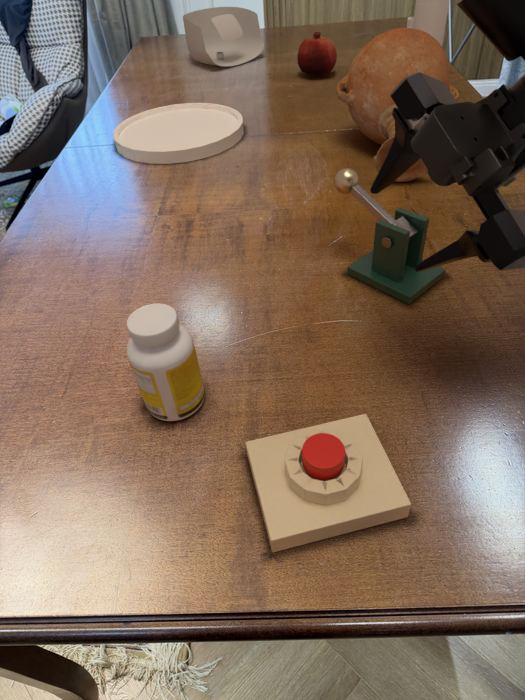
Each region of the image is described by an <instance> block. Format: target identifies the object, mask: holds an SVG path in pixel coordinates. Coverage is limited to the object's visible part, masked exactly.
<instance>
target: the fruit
mask: <svg viewBox="0 0 525 700" xmlns="http://www.w3.org/2000/svg"><path fill="white" fill-rule="evenodd" d="M321 34H322V32H320V31H314V32H313V36H310V37H306V38H304V39H303V41H302V42H301V43H300V45H299V47H298V51H297V55H296V60H297V65H298V68H299V69H300V71H301V72H302V73H303V74H305V75H308V76H314V77H323V76H325V75H328V74H329V73H331V71H332V70H334V68H335V66H336V63H337V60H338V52H337V48H336V44H335V43H334V42H333V41H332V40H331V39H330V38H328V37H324V36H321Z"/></svg>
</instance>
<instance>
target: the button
mask: <svg viewBox="0 0 525 700" xmlns="http://www.w3.org/2000/svg"><path fill="white" fill-rule="evenodd" d="M302 463H303V467H304V469H305V471H306V472H307V473H308V474H309V475H310V476H312V477H314V478H316V479H320V480H328V479H332V478H334V477H336V476H338V475H339V474H340V473H341V472H342V470H343V468H344V463H345V447H344V445H343V443H342V442H341V441H340V439H338V438H337V437H336V436H334V435H331V434H327V433H319V434H315V435H312V436H311V437H309V438H308V439H307V440H306V441H305V442H304V444H303V447H302Z"/></svg>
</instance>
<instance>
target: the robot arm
mask: <svg viewBox="0 0 525 700" xmlns="http://www.w3.org/2000/svg"><path fill="white" fill-rule="evenodd" d="M455 4H456V6H457V7H458V8H459V10H460V11H461V12H463V14H465V16H466V17H467V18H468V19H469V20H470V22H472V23H473V25H474V26H475V27H476V28H477V29H478V30H479V31H480V32H481V33H482V34H483V36H484V37H485V38H486V39H487V41H489V42H490V44H491V45H492V46H493V47H494V48H495V49H496V50H497V51H498V52H499V53H500V55H502V57H503V58H504V59H505V60H506V61H507V62H512V61H515V60H517V59H518V58H522V59H523V61H525V0H457V1H456V3H455ZM391 98H392V99H393V101H394V103H395V104H396V106H397V107H398V108H394V109H393V111H392V116H393V118H394V120H395V137H394V140H393V143H392V145H391V148H390V150H389V153H388V155H387V157H386V159H385V161H384V163H383V165H382V167H381V169H380V171H379V172H378V173H377V175H376V177H375V179H374V181H373V182H372V184H371V186H370V189H369V192H370V193H371V194H373V195H378V194H379V193H381V192H382V191H384V190H385V189H386V188H388V187H389V186H391V185H392V184H393V183H394V182H395V180H396V179H398V178H399V177H400V176H401V175H402V174H403V173H404V172H406V171H407V170H408V169H409V168H410V167H411V166H412V165H414V164H415V163H416V162H417V161H418V160H419V159H420V158H421V159H422V161H423V162H424V164H425V166H426V167H427V169H428V173H427V175H428V177H429V178H430V180H431V181H432V182H433V184H434V183H435V185H438V186H440V187H449V186H451V185H453V184H455V183H457V185H458V186H462V187H463V189H464V191H465V193H466V194H467V195H468V197H472V199H473V201H474V202H475V205H477V207H478V208H479V210H480V211H481V213H482V215H483V216H484V218H485V220H484V221H483V222H481V223H480V226H479V229H476V230H475V229H474V230H473V229H472V230H471V229H467V230H465V231H464V232H463V234H462V235H461V236H460V237H459V238H458V239H457V240H455V241H453V242H452V243H450V244H448V245H446V246H445V247H444V248H441V249H440V250H438V251H437V252H435V253H433V254H431V255H430V256H429V257H426V258H425V259H423V260H424V261H422V262H421V263H420V264H419V265H417V266H416V267H415V268H414V269H415V271H416V272H420V271H424V270H427V269H431V268H434V267H438V266H439V267H442V266H445V265H447V264H451V263H455V262H458V261H462V260H466V259H470V258H474V257H475V258H476V257H477V258H478V259H479V261H481V262H483V263H492V265H493V266H494V267H495V268H497V269H498V270H499V271H507V270H508V271H509V270H518V269H525V210H524V209H512V208H510V206H509V205H508V203H507V201H506V200H505V197H503V195H502V194H501V192H500V191H499V189H500V188H501V187H505V188H506V187H507V186H509V185H511V184H512V183H514V181H516V180H517V177H516V176H517V175H518V174H520V173H521V172H522V171H523V170H525V73H524V74H523V75H521V77H519V79H517V80H516V81H515V82H514V83H513V84H512V85H510V86H508V85H506V84H504V83H503V84H501V85H500V87H498V88H495V89H494V90H493V91H492V92H491V93H489V94H488V95H487V96H485V97H484V98H482V99H479V100H478V101H477V102H472V101H463V102H459V101H456V99H455V98H454V96H453V95H452V93H451V92H450V90H449V89H448V87H447V85H446V84H445V83H444V82H442V81H439V80H437V79H435V78H432V77H430V76H428V75H425V74H423V73H420V72H419V73H413V74H411V75H409V76H407V77H405V78H404V79H403V80H402V81H401V82H400V83H399V84H398V85H397V86H396V88H395V89H394V90H393V91H392V92H391Z"/></svg>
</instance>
